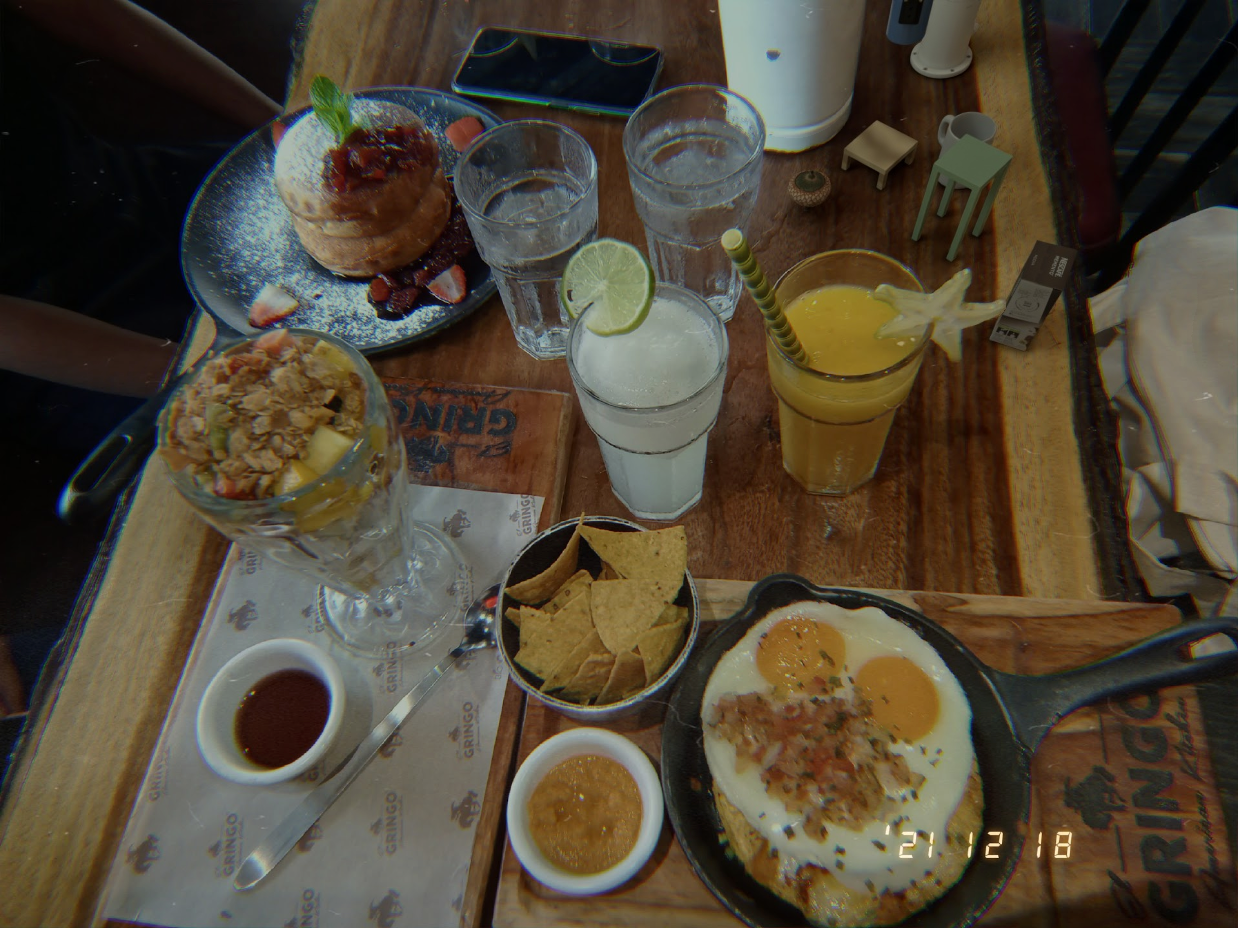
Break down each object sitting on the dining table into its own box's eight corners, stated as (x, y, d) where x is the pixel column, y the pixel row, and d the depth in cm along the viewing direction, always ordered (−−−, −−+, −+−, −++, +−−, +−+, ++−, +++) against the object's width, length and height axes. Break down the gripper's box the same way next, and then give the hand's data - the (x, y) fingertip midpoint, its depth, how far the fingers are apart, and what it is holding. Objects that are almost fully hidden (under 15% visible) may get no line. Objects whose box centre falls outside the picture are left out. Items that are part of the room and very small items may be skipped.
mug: (989, 178, 144) (1007, 131, 134) (951, 195, 143) (967, 150, 133) (952, 142, 149) (967, 94, 139) (915, 158, 149) (928, 112, 139)
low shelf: (872, 140, 152) (876, 120, 148) (912, 161, 148) (918, 141, 144) (841, 168, 150) (844, 148, 146) (881, 190, 146) (885, 170, 142)
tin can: (901, 16, 126) (913, -40, 118) (933, 29, 123) (947, -27, 115) (878, 36, 125) (888, -19, 116) (909, 50, 122) (922, -5, 114)
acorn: (797, 231, 145) (801, 192, 136) (778, 204, 148) (781, 164, 140) (835, 215, 145) (842, 176, 136) (815, 189, 149) (820, 149, 140)
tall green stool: (940, 211, 142) (966, 133, 126) (981, 233, 138) (1013, 156, 122) (911, 238, 140) (933, 163, 124) (951, 262, 136) (980, 187, 120)
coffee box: (1026, 352, 126) (1063, 292, 112) (987, 340, 128) (1019, 279, 114) (1042, 313, 129) (1080, 249, 114) (1004, 301, 131) (1037, 237, 117)
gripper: (917, -148, 109) (894, -24, 125) (902, -79, 102) (879, 42, 118) (971, -149, 107) (940, -23, 123) (959, -79, 100) (928, 45, 116)
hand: (911, 8), depth 120 cm, fingers closed on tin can, 6 cm apart
